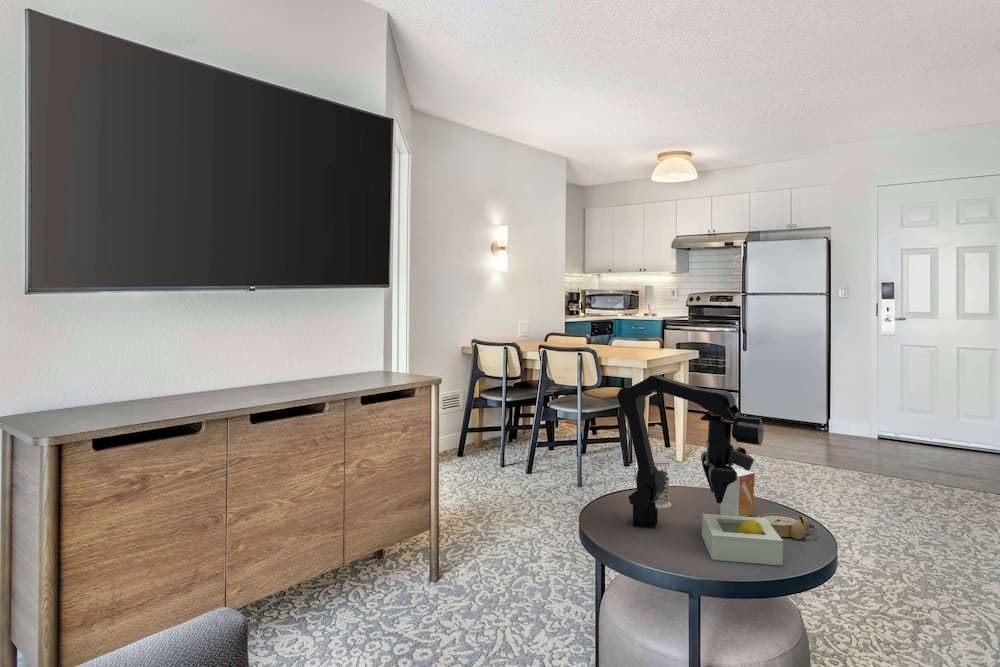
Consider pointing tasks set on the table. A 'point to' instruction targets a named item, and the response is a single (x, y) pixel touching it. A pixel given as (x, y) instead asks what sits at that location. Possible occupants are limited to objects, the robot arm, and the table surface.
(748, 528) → the lemon
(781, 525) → the alarm clock
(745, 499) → the small box
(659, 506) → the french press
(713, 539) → the pale green square tray
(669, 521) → the table surface
